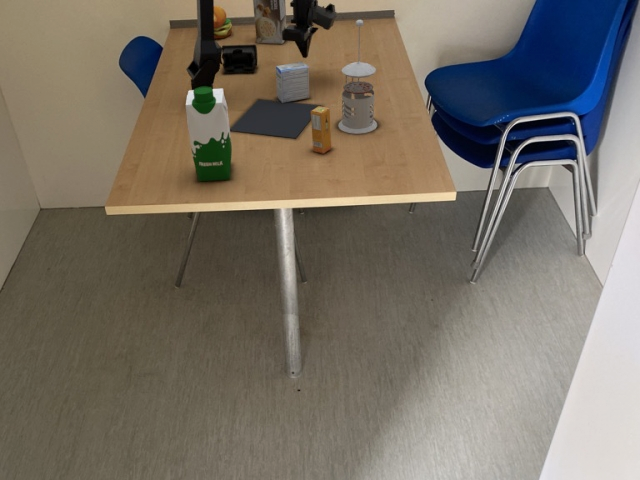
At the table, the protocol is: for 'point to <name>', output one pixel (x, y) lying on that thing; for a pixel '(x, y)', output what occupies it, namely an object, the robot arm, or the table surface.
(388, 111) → the table surface
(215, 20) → the cheeseburger
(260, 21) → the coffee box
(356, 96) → the french press
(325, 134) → the supplement box
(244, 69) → the end cap
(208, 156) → the milk carton
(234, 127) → the mat
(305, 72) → the medicine box
